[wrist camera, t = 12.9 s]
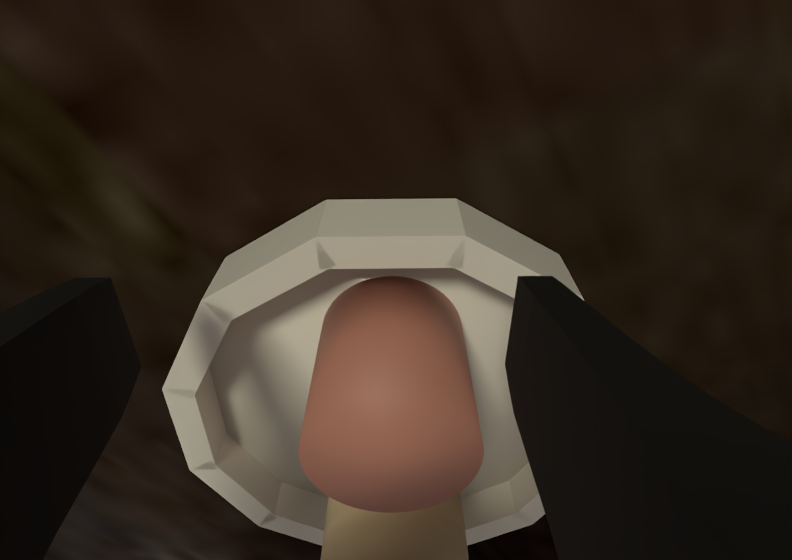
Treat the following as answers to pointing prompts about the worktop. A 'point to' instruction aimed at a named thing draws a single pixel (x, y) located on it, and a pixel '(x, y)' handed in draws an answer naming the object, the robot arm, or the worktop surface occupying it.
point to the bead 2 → (395, 533)
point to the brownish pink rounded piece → (391, 400)
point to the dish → (299, 337)
